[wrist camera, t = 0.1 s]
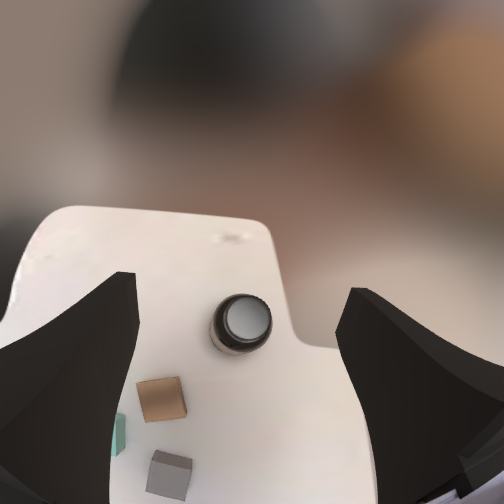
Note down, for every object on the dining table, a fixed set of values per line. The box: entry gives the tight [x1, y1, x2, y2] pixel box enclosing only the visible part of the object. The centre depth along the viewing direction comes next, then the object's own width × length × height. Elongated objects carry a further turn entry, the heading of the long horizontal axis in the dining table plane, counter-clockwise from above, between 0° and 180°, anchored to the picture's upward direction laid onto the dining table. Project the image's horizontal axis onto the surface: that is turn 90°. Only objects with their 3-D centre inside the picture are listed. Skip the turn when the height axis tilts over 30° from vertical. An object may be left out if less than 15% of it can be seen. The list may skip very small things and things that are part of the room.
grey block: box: [146, 450, 192, 501], centre depth 29 cm, size 5×5×5 cm
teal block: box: [111, 414, 125, 457], centre depth 30 cm, size 5×5×5 cm
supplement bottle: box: [210, 294, 272, 355], centre depth 35 cm, size 7×7×12 cm
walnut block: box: [136, 377, 187, 422], centre depth 33 cm, size 5×5×5 cm
